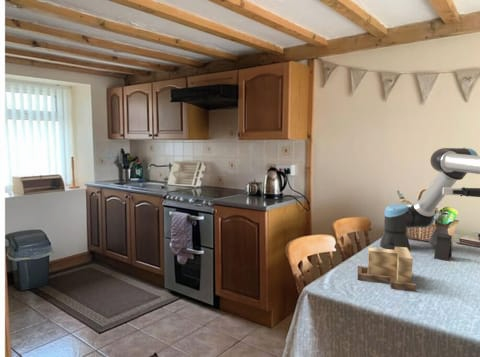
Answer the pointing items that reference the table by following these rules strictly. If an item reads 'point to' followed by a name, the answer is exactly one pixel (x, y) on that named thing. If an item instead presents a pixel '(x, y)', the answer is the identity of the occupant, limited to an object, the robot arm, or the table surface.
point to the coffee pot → (439, 229)
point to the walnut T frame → (384, 280)
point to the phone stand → (443, 247)
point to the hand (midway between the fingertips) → (443, 191)
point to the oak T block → (391, 263)
